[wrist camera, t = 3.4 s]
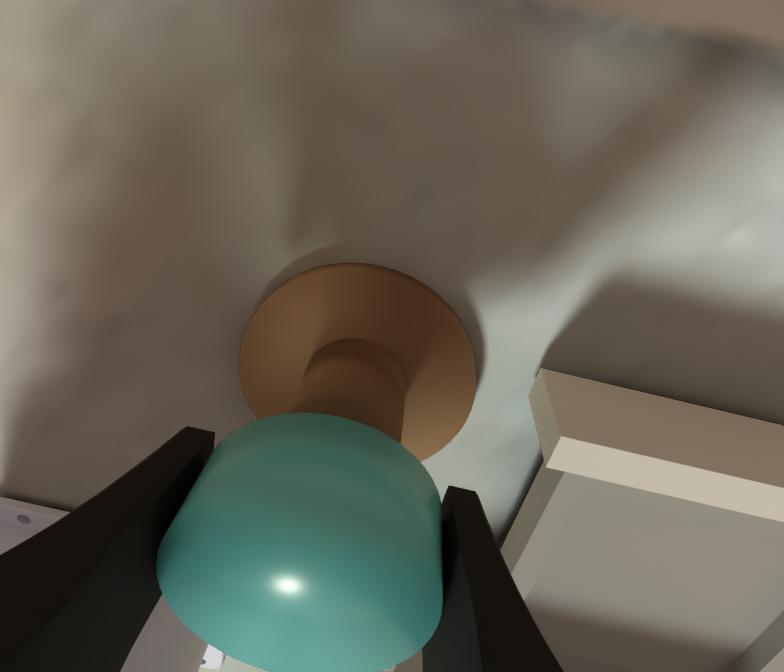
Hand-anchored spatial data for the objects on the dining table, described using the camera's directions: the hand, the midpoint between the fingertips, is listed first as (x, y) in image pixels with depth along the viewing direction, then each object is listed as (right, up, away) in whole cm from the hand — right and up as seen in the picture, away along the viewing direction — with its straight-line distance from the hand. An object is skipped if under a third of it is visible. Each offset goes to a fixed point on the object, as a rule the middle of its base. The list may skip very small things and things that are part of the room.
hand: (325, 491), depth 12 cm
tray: (+10, -4, +6) cm, 13 cm away
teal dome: (0, 0, -1) cm, 1 cm away
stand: (0, +2, +4) cm, 5 cm away
